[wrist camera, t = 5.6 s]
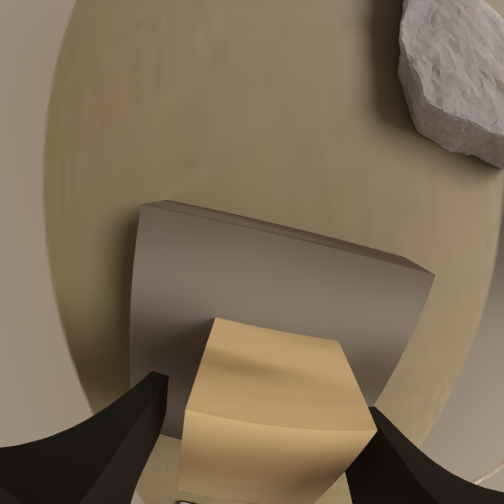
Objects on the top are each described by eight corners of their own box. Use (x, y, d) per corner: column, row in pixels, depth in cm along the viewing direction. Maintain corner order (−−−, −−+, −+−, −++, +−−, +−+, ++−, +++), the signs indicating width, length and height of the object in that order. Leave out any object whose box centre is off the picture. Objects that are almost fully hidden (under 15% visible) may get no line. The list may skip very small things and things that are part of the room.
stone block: (385, 142, 13) (513, 180, 11) (411, 119, 9) (558, 178, 7) (376, -5, 11) (493, 37, 9) (384, -48, 6) (519, 11, 4)
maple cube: (300, 421, 12) (311, 505, 7) (199, 405, 12) (176, 489, 7) (338, 340, 11) (377, 430, 6) (215, 317, 10) (185, 408, 6)
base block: (328, 426, 16) (335, 458, 13) (148, 393, 15) (132, 424, 12) (404, 257, 13) (435, 274, 10) (167, 199, 12) (141, 204, 10)
